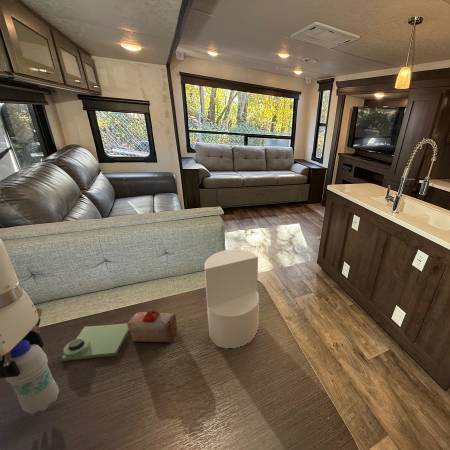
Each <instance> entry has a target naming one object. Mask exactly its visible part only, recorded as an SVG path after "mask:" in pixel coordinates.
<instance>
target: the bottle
mask: <svg viewBox="0 0 450 450" xmlns="http://www.w3.org/2000/svg"><path fill="white" fill-rule="evenodd" d="M11 361H15V362H16V364H17V366H18V368H19V370H20V374H19V375H18V376H16V377H7V378H4V379H5V381H6V382H7V383H9V384H10V386H11V387H12V389H13V391H14V393H15V395H16V396H17V399H18V403H19V405H20V407H21V410H22V411H24V412H25V413H27V414H29V415H36V414H37V413H38V412H45V411H46V410H48V407H49V406H50V405H53V404H55V403H56V401H57V399H58V396H59V393H60V389H59V385H58V384H57V382H56V381H55V379H54V378H53V375H52V372H51V370H50V368H49V365H48V363H49V359H48V355H47V354H46V353H45V352H44V350H43V348H40V346H38V345H36V344H30V343H29V342H28V341H27V340H21V341H20V342H19V343H18V344H17V345H16V346H15V347H14V348H13V349H12V350H11Z"/></svg>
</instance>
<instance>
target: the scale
mask: <svg viewBox="0 0 450 450" xmlns="http://www.w3.org/2000/svg"><path fill="white" fill-rule="evenodd" d="M127 324H128V322H127V323H117V324H115V323H114V324H103V325H91V326H89V325H88V326H84V327H83V328H82V329H81V331H80V333H78V335H77V337H76V338H75V339H74V340H76V339H82V341H83V346H82V347H81V348H80V349H77V350H74V351H72V350H70V347H69V344H70V343H71V342H72V341H73V340H71V341H69V342H68V343H67V344H66V345H65V346H64V347H63V349H62V350H63V355H62V356H61V361H62V362H64V361H65V362H67V361H76V360H83V359H84V360H85V359H94V358H104V357H114V356H117V355H118V353H119V351H120V350H121V348H122V346H123V343H124V342H125V339H126V338H127V336H128V334H129V333H130V331H129V329H128V325H127Z"/></svg>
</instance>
